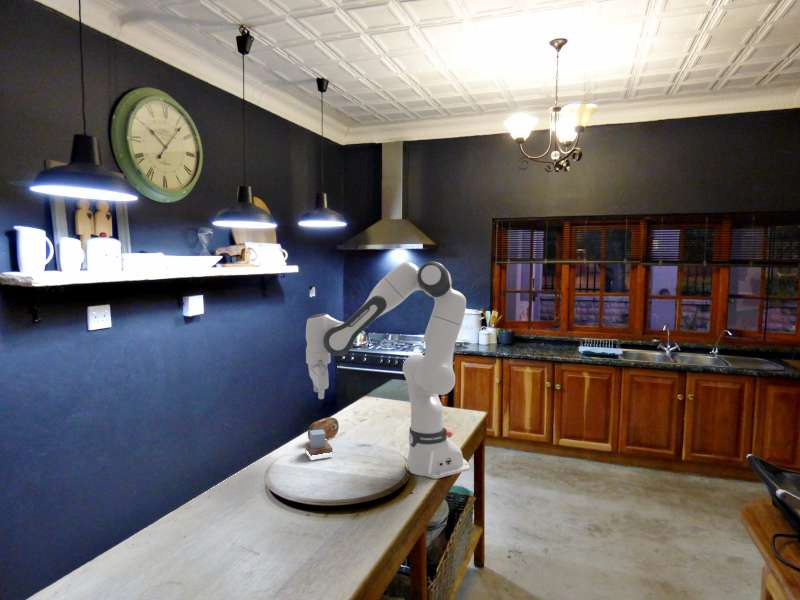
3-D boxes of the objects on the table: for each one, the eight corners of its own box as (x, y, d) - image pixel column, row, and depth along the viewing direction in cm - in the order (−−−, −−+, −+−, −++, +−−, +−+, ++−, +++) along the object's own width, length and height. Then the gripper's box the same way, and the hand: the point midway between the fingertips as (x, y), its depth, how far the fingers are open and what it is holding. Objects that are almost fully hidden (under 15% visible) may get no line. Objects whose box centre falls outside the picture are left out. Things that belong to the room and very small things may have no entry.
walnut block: (326, 450, 184) (326, 440, 184) (332, 458, 177) (332, 447, 177) (305, 453, 181) (305, 443, 181) (310, 461, 174) (310, 451, 174)
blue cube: (322, 442, 182) (323, 429, 182) (325, 447, 178) (325, 433, 177) (309, 443, 181) (309, 430, 180) (311, 448, 176) (311, 435, 175)
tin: (311, 446, 187) (311, 425, 187) (306, 444, 189) (306, 423, 189) (339, 435, 199) (339, 415, 199) (333, 434, 201) (333, 414, 201)
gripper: (332, 363, 168) (333, 402, 169) (321, 352, 187) (322, 387, 188) (314, 364, 166) (315, 403, 167) (305, 353, 185) (305, 388, 186)
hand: (318, 395), depth 178 cm, fingers open, 8 cm apart
